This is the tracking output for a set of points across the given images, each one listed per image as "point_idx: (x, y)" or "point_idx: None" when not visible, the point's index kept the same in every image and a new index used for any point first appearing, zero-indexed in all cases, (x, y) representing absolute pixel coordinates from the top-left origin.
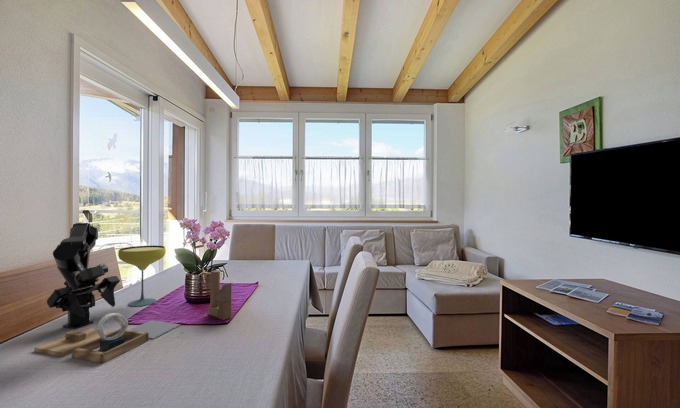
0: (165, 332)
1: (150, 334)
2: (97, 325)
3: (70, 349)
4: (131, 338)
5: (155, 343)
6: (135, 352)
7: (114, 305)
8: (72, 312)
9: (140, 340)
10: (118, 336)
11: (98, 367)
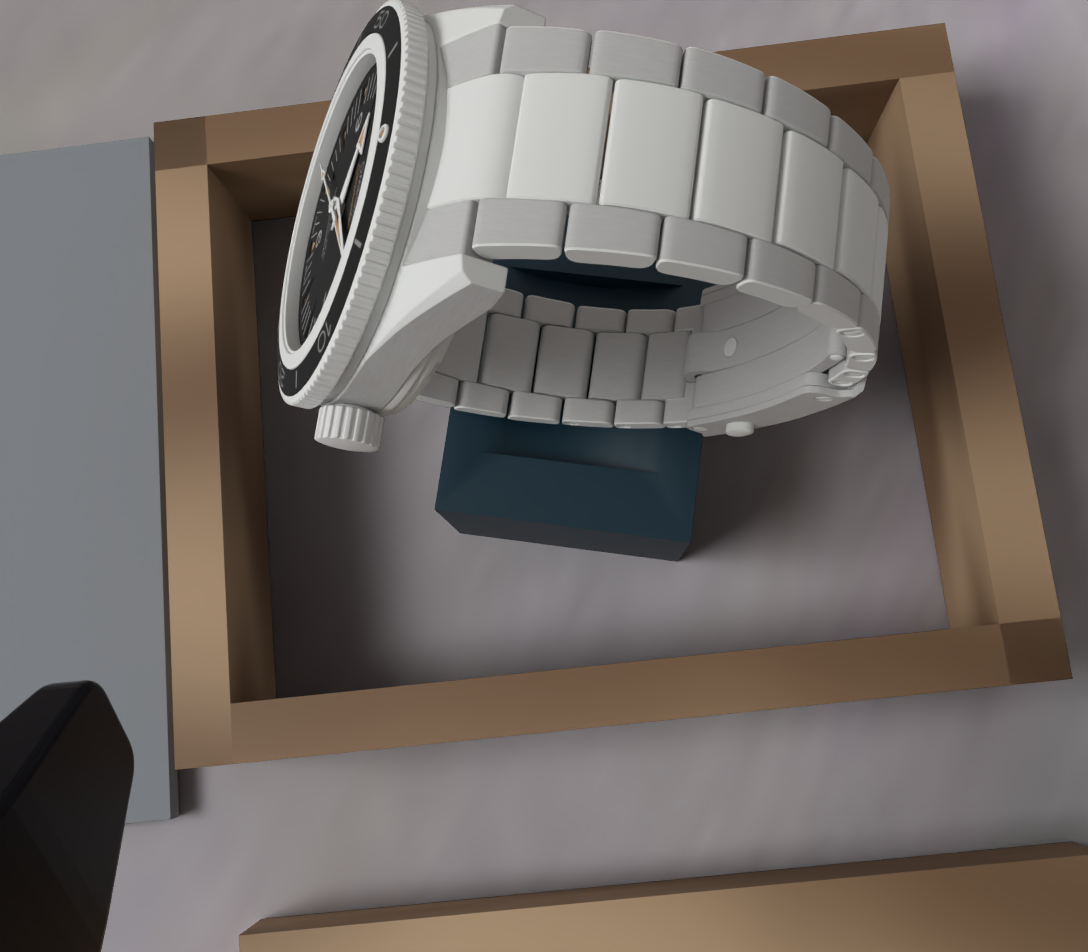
0: None
1: (59, 297)
2: (875, 338)
3: (979, 869)
4: (258, 449)
5: (244, 11)
6: (534, 9)
7: (86, 698)
8: None
9: None
10: (515, 296)
11: (988, 46)
